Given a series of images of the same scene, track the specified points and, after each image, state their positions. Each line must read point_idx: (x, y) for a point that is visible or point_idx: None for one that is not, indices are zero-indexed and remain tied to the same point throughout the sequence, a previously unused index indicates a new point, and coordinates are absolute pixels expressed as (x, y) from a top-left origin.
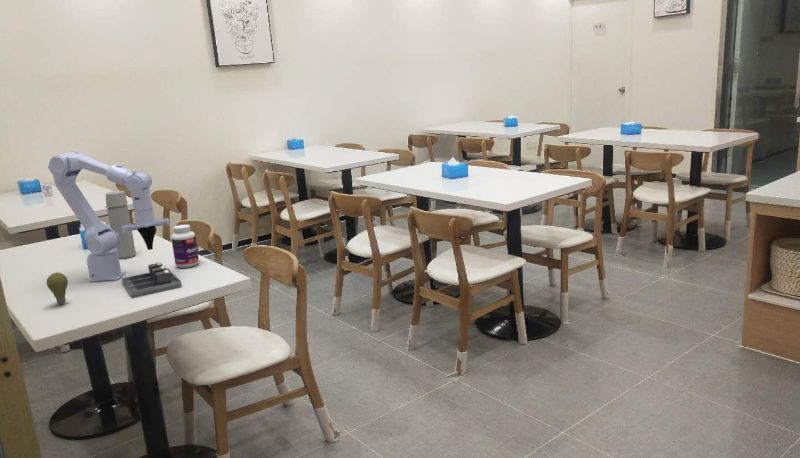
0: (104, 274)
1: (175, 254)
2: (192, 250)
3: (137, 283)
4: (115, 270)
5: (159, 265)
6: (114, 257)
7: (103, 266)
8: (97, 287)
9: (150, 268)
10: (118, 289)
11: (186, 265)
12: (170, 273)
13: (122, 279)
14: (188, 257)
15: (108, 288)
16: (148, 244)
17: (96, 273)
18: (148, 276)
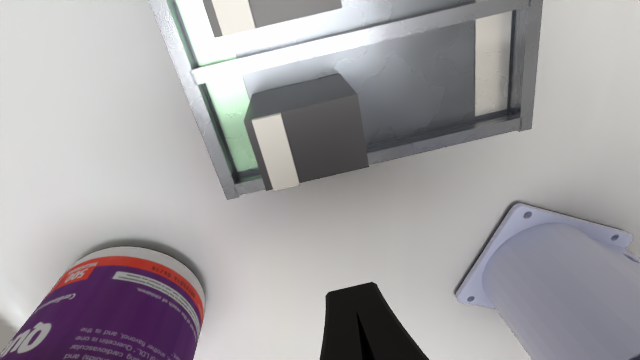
0: (591, 240)
1: (167, 335)
2: (9, 345)
3: (442, 3)
4: (539, 259)
5: (270, 114)
6: (596, 331)
7: (633, 274)
8: (630, 126)
9: (350, 93)
10: (552, 8)
11: (122, 250)
12: (195, 69)
13: (532, 97)
14: (75, 291)
15: (592, 70)
16: (386, 336)
17: (626, 261)
18: None
